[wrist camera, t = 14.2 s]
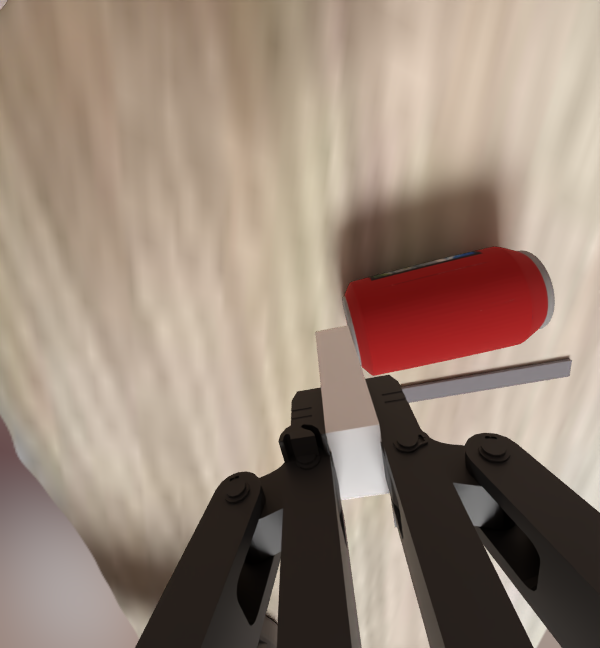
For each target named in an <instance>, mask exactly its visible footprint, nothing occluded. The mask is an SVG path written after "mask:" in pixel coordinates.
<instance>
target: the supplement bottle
mask: <svg viewBox="0 0 600 648" xmlns="http://www.w3.org/2000/svg"><path fill="white" fill-rule="evenodd" d="M6 2H7V0H0V9H1V8H2V7H3V6H4V5H5V4H6Z"/></svg>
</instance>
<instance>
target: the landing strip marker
mask: <svg viewBox="0 0 600 648" xmlns="http://www.w3.org/2000/svg"><path fill="white" fill-rule="evenodd" d="M571 362H572V360H570V359H564V360H558V361H552V362H546V363H540V364H535V365H529V366H523V367H517V368H511V369H505V370H499V371H493V372H487V373H481V374H475V375H469V376H463V377H457V378H451V379H446V380H440V381H434V382H428V383H422V384H416V385H410V386H404V387H401V388H402V391H403V393H404V395H405V397H406V400H407V401H408V403H410V402H416V401H422V400H428V399H435V398H441V397H447V396H453V395H459V394H465V393H471V392H477V391H483V390H489V389H495V388H502V387H508V386H514V385H520V384H526V383H532V382H538V381H544V380H550V379H556V378H562V377H568V376H570V369H571Z"/></svg>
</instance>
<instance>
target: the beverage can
mask: <svg viewBox="0 0 600 648" xmlns="http://www.w3.org/2000/svg"><path fill="white" fill-rule="evenodd" d="M342 301H343V307H344V311H345V316H346V321H347V325H348V327H349V330H350V333H351V337H352V340H353V343H354V346H355V349H356V352H357V356H358V359H359V362H360V365H361V366H362V367H363V368H364V369H365V370H366V371H367V372H369V373H370V374H371V375H373V376H375V375H379V374H384V373H389V372H394V371H399V370H404V369H409V368H414V367H419V366H423V365H428V364H433V363H437V362H442V361H447V360H451V359H456V358H460V357H465V356H470V355H474V354H479V353H483V352H488V351H492V350H496V349H501V348H505V347H510V346H514V345H518V344H521V343H522V342H524V341H525V340H527V339H528V338H529V337H530V336H531V335H532V334H533V333H535V332H536V331H537V330H538V329H541V328H543V327H545V326H546V325H547V324H548V323H549V322H550V320H551V318H552V315H553V312H554V304H555V300H554V290H553V286H552V282H551V279H550V277H549V274H548V272H547V270H546V269H545V267H544V265H543V264H542V263H541V261H540V260H539V259H538V258H537V257H536V256H534V255H533V254H532V253H530V252H527V251H514V250H510V249H505V248H501V247H489V248H485V249H481V250H477V251H472V252H468V253H464V254H460V255H455V256H451V257H447V258H443V259H439V260H435V261H431V262H427V263H423V264H419V265H415V266H411V267H407V268H403V269H399V270H395V271H391V272H387V273H383V274H379V275H376V276H372V277H368V278H364V279H360V280H357V281H353V282H350V284H349V286H348V288H347V290H346V293H345V295H344V296H343V297H342Z"/></svg>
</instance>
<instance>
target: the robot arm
mask: <svg viewBox="0 0 600 648" xmlns="http://www.w3.org/2000/svg"><path fill="white" fill-rule="evenodd" d="M315 333H316V343H317V352H318V362H319V372H320V382H321V388H315V389H310V390H304V391H298V392H297V393H296V395H295V396H294V398H293V400H292V408H291V411H292V412H291V426H289V427H288V428H286V429H285V430H284V431H283V433H282V434H281V435H280V438H279V445H280V448H281V451H282V455H283V458H284V461H285V463H284V464H283V465H282V466H281V467H279V468H278V469H277V470H275V471H273V472H272V473H270V474H267V475H265V476H263V477H261V478H258V477H257V476H256V475H255V474H254V473H250V472H238V473H235V474H233V475H231V476H229V477H227V478H226V479H225V480H224V481H222V482H221V484H220V485H219V486H218V488H217V489H216V491H215V493H214V495H213V497H212V498H211V500H210V502H209V504H208V506H207V508H206V510H205V512H204V514H203V516H202V518H201V520H200V522H199V524H198V526H197V528H196V530H195V532H194V534H193V536H192V538H191V540H190V541H189V543H188V545H187V547H186V549H185V551H184V553H183V555H182V557H181V559H180V561H179V563H178V565H177V567H176V569H175V571H174V573H173V575H172V577H171V579H170V581H169V583H168V585H167V586H166V588H165V590H164V592H163V594H162V596H161V598H160V600H159V602H158V604H157V606H156V608H155V610H154V612H153V614H152V616H151V618H150V620H149V622H148V624H147V626H146V628H145V629H144V631H143V633H142V635H141V637H140V639H139V641H138V643H137V645H136V647H135V648H362V647H361V640H360V632H359V625H358V617H357V610H356V602H355V595H354V587H353V580H352V572H351V565H350V557H349V550H348V542H347V535H346V527H345V520H344V514H343V510H342V505H341V500H346V499H353V498H360V497H367V496H374V495H380V494H387V493H389V492H390V496H391V501H392V508H393V516H394V523H395V527H397V528H398V531H399V535H400V539H401V542H402V546H403V549H404V553H405V557H406V560H407V564H408V568H409V571H410V575H411V579H412V582H413V586H414V590H415V593H416V597H417V601H418V604H419V608H420V612H421V615H422V619H423V623H424V626H425V630H426V634H427V637H428V641H429V645H430V648H533V646H532V644H531V642H530V639H529V637H528V635H527V633H526V631H525V629H524V627H523V625H522V623H521V621H520V619H519V617H518V615H517V613H516V611H515V609H514V607H513V605H512V603H511V601H510V599H509V597H508V595H507V593H506V591H505V588H504V586H503V584H502V582H501V580H500V578H499V576H498V574H497V572H496V570H495V568H494V566H493V564H492V562H491V560H490V558H489V556H488V554H487V552H486V550H485V548H486V549H487V550H488V551H489V553H490V554H491V555H492V557H493V558H494V559H495V561H496V562H497V563H498V565H499V566H500V567H501V568H502V570H503V571H504V572H505V574H506V575H507V576H508V578H509V579H510V580H511V582H512V583H513V584H514V585H515V587H516V588H517V589H518V591H519V592H520V593H521V595H522V596H523V597H524V599H525V600H526V601H527V602H528V604H529V605H530V606H531V608H532V609H533V610H534V612H535V613H536V614H537V616H538V617H539V618H540V619H541V621H542V622H543V623H544V625H545V626H546V627H547V629H548V630H549V631H550V632H551V634H552V635H553V636H554V638H555V639H556V640H557V642H558V643H559V644H560V645H561V647H562V648H600V513H599V512H598V511H597V510H596V509H595V508H593V507H592V506H591V505H590V504H589V503H587V502H586V501H585V500H584V499H582V498H581V497H580V496H579V495H578V494H576V493H575V492H574V491H573V490H572V489H570V488H569V487H568V486H567V485H566V484H564V483H563V482H562V481H561V480H560V479H558V478H557V477H556V476H555V475H554V474H552V473H551V472H550V471H549V470H548V469H546V468H545V467H544V466H543V465H542V464H540V463H539V462H538V461H537V460H536V459H534V458H533V457H532V456H531V455H530V454H528V453H527V452H526V451H525V450H524V449H522V448H521V447H520V446H519V445H518V444H516V443H515V442H513V441H512V440H510V439H508V438H507V437H504V436H501V435H498V434H493V433H481V434H476V435H474V436H472V437H471V438H469V439H468V440H467V442H466V444H465V446H463V445H452V444H445V443H441V442H438V441H435V440H433V439H431V438H430V437H429V436H428V435H427V434H426V433H425V432H423V431H422V430H421V428H420V427H419V424H418V422H417V420H416V418H415V416H414V414H413V412H412V410H411V408H410V405H409V403H408V401H407V400H406V397H405V395H404V393H403V391H402V388H401V386H400V384H399V382H398V381H397V380H395V379H394V378H393V377H391V376H390V375H385V376H379V377H374V378H368V379H365V378H364V374H363V371H362V368H361V365H360V362H359V359H358V356H357V352H356V349H355V346H354V343H353V340H352V337H351V333H350V330H349V327H348V326H343V327H337V328H332V329H327V330H321V331H316V332H315ZM483 545H484V546H485V548H484V546H483ZM280 559H281V563H280ZM279 563H280V585H279V607H278V625H277V624H276V623H275V622H274V621H272V620H271V619H269V618H268V617H266V616H265V615H266V611H267V608H268V604H269V600H270V596H271V593H272V589H273V585H274V581H275V578H276V574H277V570H278V566H279Z"/></svg>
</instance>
